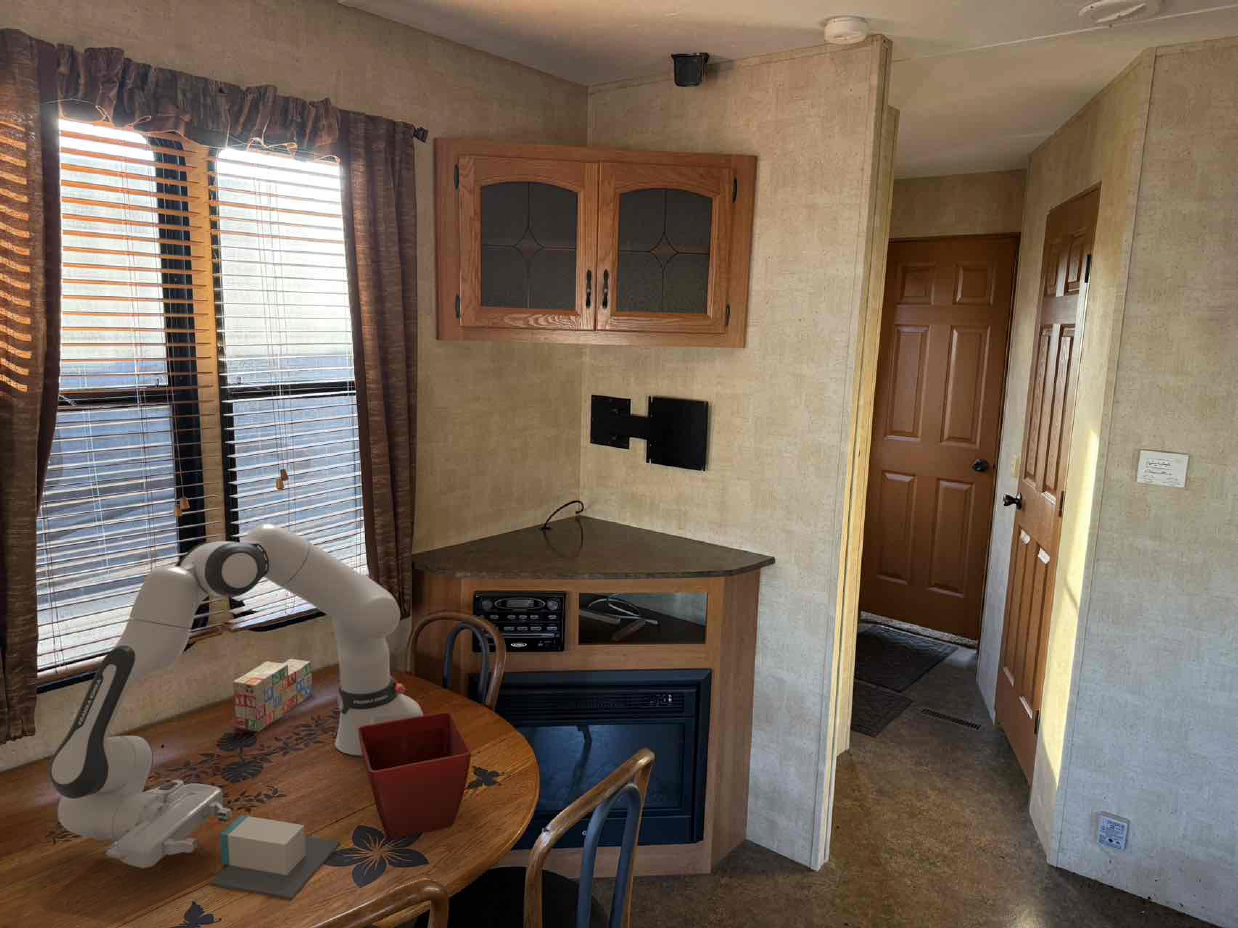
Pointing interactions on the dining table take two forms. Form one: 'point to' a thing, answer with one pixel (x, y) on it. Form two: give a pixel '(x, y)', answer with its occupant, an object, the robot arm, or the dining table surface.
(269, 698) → the stack of blocks
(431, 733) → the plant pot
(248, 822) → the cream block
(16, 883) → the dining table surface
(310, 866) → the mat
